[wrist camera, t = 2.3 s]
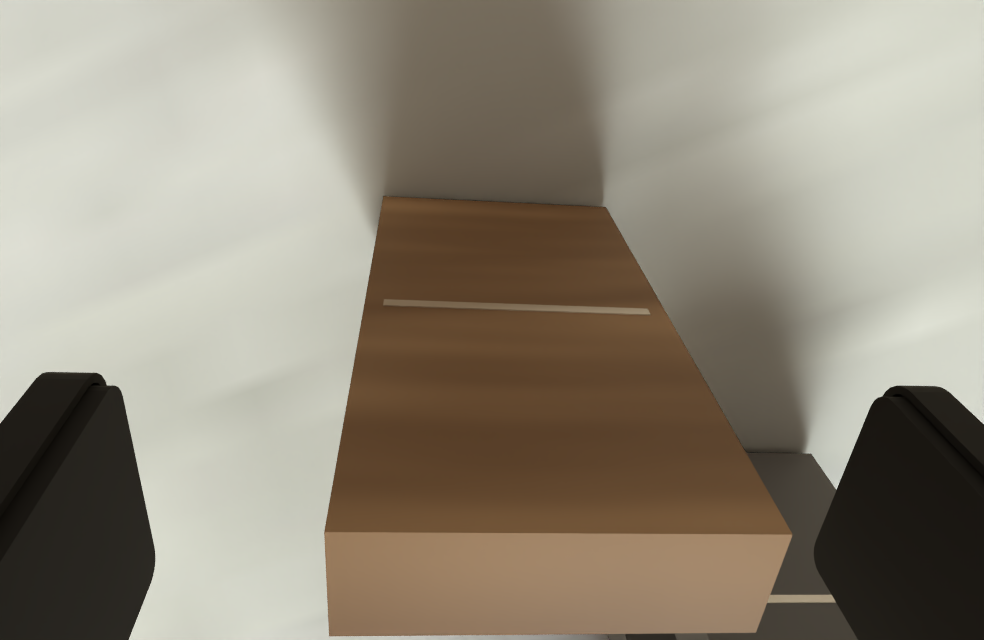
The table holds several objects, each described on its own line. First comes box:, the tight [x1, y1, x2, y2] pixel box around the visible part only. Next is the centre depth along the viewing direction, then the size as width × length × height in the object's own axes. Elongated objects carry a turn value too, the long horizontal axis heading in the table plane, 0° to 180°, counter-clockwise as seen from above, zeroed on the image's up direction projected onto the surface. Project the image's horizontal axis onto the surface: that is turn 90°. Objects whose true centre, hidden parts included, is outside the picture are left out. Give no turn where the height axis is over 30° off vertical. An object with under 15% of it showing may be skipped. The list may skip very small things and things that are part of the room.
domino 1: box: [324, 196, 793, 636], centre depth 12 cm, size 2×5×10 cm, turn 85°
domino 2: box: [675, 453, 858, 640], centre depth 17 cm, size 2×5×10 cm, turn 86°
